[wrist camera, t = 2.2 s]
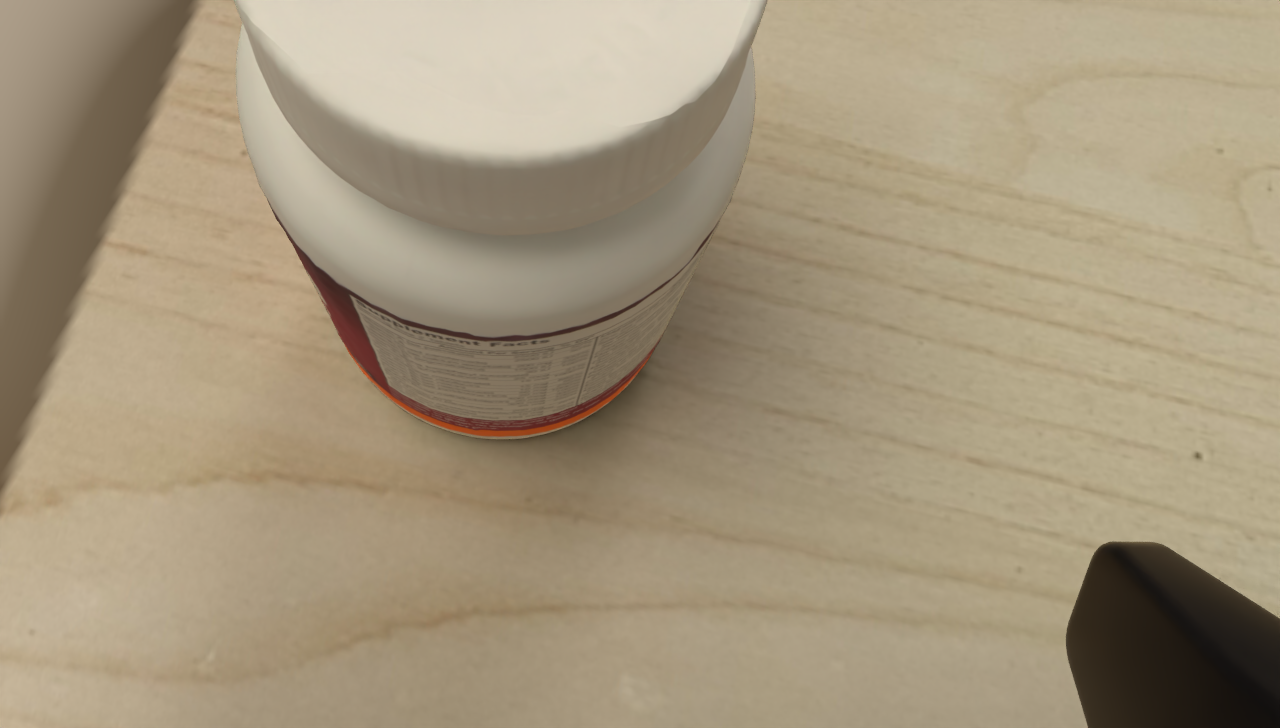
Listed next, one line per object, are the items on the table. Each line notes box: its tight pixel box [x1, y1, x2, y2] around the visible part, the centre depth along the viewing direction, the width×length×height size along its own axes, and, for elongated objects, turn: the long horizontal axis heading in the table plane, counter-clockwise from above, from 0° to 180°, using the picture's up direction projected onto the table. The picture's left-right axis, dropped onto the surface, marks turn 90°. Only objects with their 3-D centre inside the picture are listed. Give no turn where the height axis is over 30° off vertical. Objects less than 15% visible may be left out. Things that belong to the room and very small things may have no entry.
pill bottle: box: [234, 0, 767, 439], centre depth 16 cm, size 6×6×11 cm
